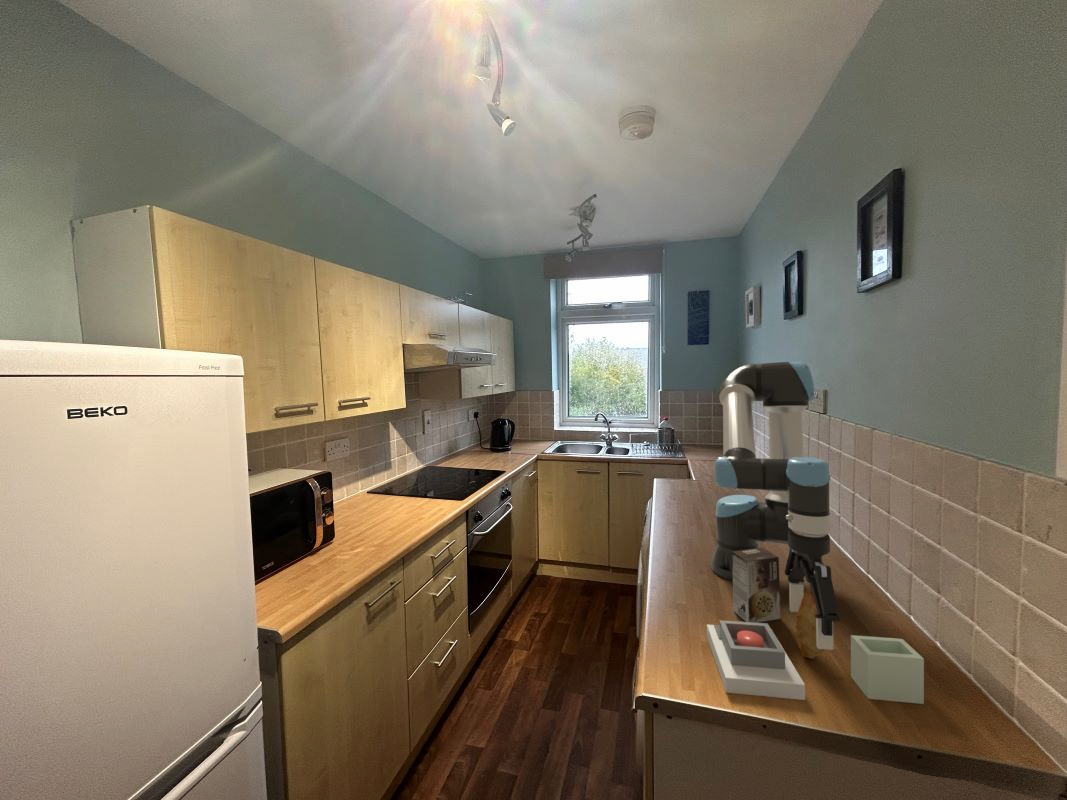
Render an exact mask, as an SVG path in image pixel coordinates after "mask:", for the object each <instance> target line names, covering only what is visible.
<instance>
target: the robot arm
mask: <svg viewBox="0 0 1067 800" xmlns="http://www.w3.org/2000/svg"><path fill="white" fill-rule="evenodd" d="M718 393H719V394H718V395H719V397H718V398H719V402H720V404H721V405H722V425H723V426H722V428H723V429H722V430H723V431H722V432H723V434H722V436H723V439H722V440H723V441H722V442H723V443H722V444H723V450H722V451H723V456H718V457H716V458H715V459H714V460H715V461H714V476H715V480H714V481H715V484H716V485H717V486H718V487H720V488H727V489H733V490H734V489H735V490H736V489H739V490H740V489H742V490H761V491H762V490H763V491H769V493H767V494H766V495H765V499H764V501H763V502H762V501H761V502H760V501H759V500H758V498H757V497H756V496H753V495H748V494H732V495H727V496H723V497H721V498H720V499H718V500H717V502H716V510H715V517H716V546H715V549H714V552H713V555H712V557H711V562H710V563H711V565H710V566H711V570H712V572H714V574H716V575H718V576H719V577H721V578H724V579H726V580H729V581H733V567H732V552H733V551H739V550H747V549H754V548H759V542H761V543H771V544H780V545H787V546H789V547H788V548H789V552H788V557H787V560H786V564H785V569H784V574H785V576H787V580H788V582H789V583H788V584H789V585H788V587H789V589H788V590H789V591H788V592H789V595H788V596H789V597H788V598H789V612H791V613H797V612H798V611H799V607H800V605H801V601H802V599H803V596H804V593H805V591H804V589H805V588H804V584H803V583H805V580H806V582H807V583H809V585H810V589H811V594H812V596H813V598H814V600H815V604H816V607H817V611H818V614H817V615H815V617H816V646H817V648H818V649H824V650H830V651H833V650H834V622H840V621H841V619H840V614H839V609H838V603H837V599H836V598H837V597H836V595H835V593H836V592H835V589H834V586H833V580H832V569H831V566H829V565H824V563H823V558H822V557H824V556H825V555H828V554H829V553H830V552H831V536H830V533H831V513H830V481H831V475H830V466H829V462H827V461H826V460H824V459H821V458H816V457H811V456H810V457H807V456H804V439H803V435H804V434H803V412H804V411H805V410H806V409H808V407H809V402H811V401H813V400H814V399H815V386H814V379H813V376H812V372H811V369H810V366H808V364H807V363H805V362H802V361H782V362H765V363H764V362H763V363H748V364H744V365H742V366H739V367H738V368H736V369H735V370H733V371H731V372H730V373H729V374H728V376H727V377H725V379H724V380H723V381H722V383H721V386H720V388H719V392H718ZM755 402H762V407H763V408H764V410H765V411H767V413H768V424H769V425H768V426H769V431H768V432H769V458H759V457H758V458H757V456H756V453H757V452H756V444H755V443H756V442H755V441H756V440H755V433H754V432H755V431H754V420H753V419H754V418H753V406H752V405H753V403H755Z"/></svg>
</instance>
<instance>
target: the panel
mask: <svg viewBox="0 0 1067 800" xmlns="http://www.w3.org/2000/svg"><path fill="white" fill-rule="evenodd" d="M718 621H719V622H718V623H719V624H706V639H707V640H708V643H709V646H710V649H711V652H712V656H713V658H714V661H715V664H716V667H717V669H718V673H719V676H720V678H721V681H722V682H721V683H722V684H723V687H724V690H725V693H728V694H739V695H748V696H749V695H750V696H760V697H769V698H778V699H779V698H780V699H788V700H789V699H790V700H797V701H798V700H800V701H806V685H805V682H804V681H803V679H802V678H801V676H800V674H799V673H798V671H797V669H796V667H795V666H794V664H793V663H792V661H791V659H790V657H789V656H788V654H787V653H786V651H785V649H784V648H783V646H782V644H781V642H780V641H779V640H778V637H777V636H776V634H775V633H774V630H773V629H772V628H771V627H770V625H769V623H767V622H766V623H764V622H758V623H753V622H746V621H737V620H720V619H719V620H718ZM740 631H752V632H755V633H757V634H759V635H760V636H761V637H762V638H763V640H764V648H760V647H747V646H737V633H738V632H740Z"/></svg>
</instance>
